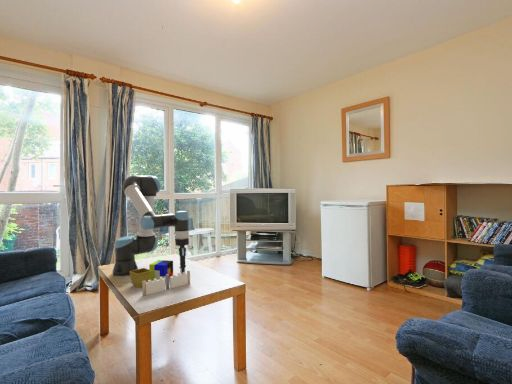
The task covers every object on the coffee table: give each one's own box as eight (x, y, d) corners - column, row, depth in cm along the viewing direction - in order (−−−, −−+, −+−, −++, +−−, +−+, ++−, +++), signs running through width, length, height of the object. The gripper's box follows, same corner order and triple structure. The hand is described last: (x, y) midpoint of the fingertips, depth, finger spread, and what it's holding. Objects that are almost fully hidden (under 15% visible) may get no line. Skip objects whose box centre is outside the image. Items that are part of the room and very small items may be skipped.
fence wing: (171, 288, 147) (170, 275, 147) (169, 287, 149) (169, 274, 148) (190, 283, 155) (190, 270, 155) (189, 282, 156) (189, 270, 156)
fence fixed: (168, 288, 148) (168, 274, 148) (170, 289, 147) (169, 274, 147) (142, 295, 139) (141, 280, 139) (143, 296, 138) (142, 280, 137)
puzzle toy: (164, 282, 160) (164, 265, 160) (149, 281, 162) (149, 264, 162) (173, 276, 170) (173, 260, 170) (158, 275, 172) (158, 260, 172)
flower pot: (144, 282, 159) (144, 267, 159) (152, 286, 154) (151, 270, 154) (129, 287, 153) (129, 271, 152) (137, 290, 147) (136, 274, 147)
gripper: (174, 236, 161) (175, 276, 161) (175, 240, 149) (176, 283, 149) (187, 235, 163) (188, 274, 164) (189, 239, 151) (190, 281, 151)
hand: (182, 278), depth 156 cm, fingers closed
